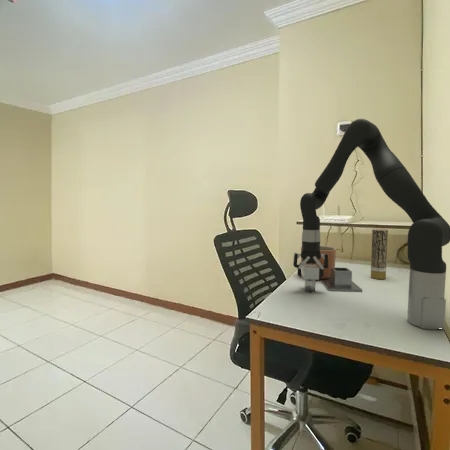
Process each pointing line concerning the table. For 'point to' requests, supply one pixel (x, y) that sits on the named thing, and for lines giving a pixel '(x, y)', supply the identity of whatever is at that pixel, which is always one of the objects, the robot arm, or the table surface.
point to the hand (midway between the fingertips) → (310, 277)
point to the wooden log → (379, 253)
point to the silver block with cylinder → (310, 276)
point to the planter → (331, 260)
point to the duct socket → (341, 281)
